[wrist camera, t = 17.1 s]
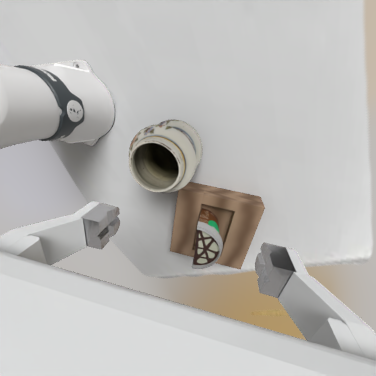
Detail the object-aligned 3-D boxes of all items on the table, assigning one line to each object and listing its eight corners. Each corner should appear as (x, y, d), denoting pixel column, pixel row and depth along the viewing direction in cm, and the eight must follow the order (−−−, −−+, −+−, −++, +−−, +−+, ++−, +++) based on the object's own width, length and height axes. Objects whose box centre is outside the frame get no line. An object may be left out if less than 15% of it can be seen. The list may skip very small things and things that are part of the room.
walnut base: (175, 238, 55) (170, 251, 50) (183, 180, 46) (178, 189, 41) (238, 254, 53) (240, 269, 48) (260, 196, 44) (264, 207, 39)
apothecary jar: (182, 177, 46) (159, 215, 30) (147, 145, 44) (102, 166, 28) (215, 144, 41) (209, 168, 25) (178, 106, 39) (145, 104, 23)
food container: (219, 244, 49) (218, 275, 40) (197, 240, 50) (191, 269, 41) (227, 207, 43) (227, 232, 35) (202, 203, 44) (196, 226, 35)
